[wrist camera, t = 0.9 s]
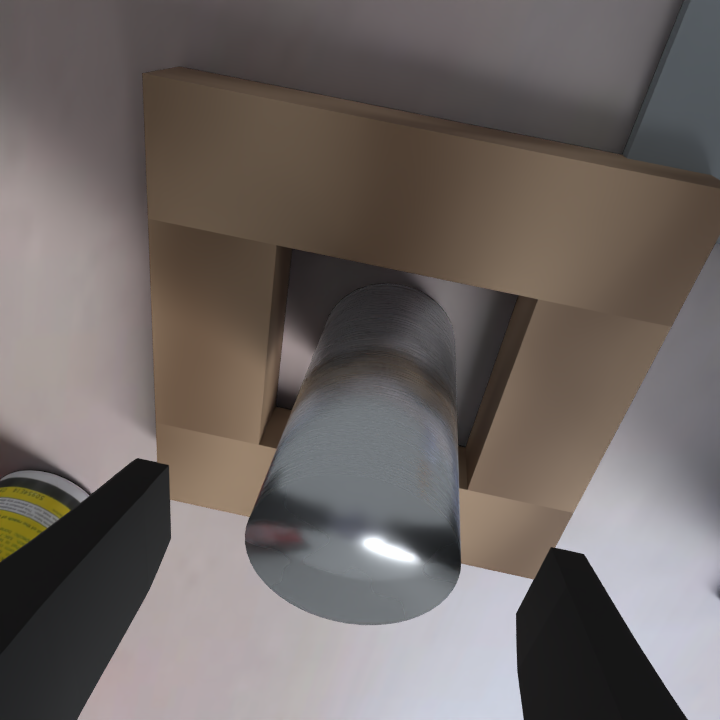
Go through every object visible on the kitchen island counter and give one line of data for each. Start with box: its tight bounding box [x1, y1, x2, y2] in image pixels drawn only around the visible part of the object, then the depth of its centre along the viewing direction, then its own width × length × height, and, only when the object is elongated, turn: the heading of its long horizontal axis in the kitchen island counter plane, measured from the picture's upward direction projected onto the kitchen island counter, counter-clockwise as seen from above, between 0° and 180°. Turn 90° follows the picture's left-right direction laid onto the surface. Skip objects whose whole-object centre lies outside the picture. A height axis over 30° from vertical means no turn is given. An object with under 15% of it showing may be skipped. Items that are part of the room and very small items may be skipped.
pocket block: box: [142, 67, 720, 579], centre depth 16 cm, size 13×13×2 cm
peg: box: [245, 284, 461, 625], centre depth 14 cm, size 4×4×8 cm
